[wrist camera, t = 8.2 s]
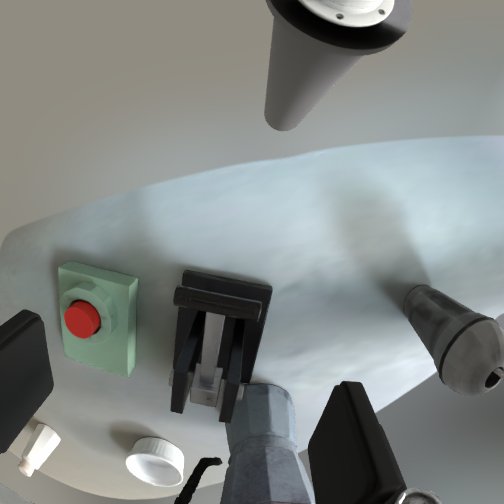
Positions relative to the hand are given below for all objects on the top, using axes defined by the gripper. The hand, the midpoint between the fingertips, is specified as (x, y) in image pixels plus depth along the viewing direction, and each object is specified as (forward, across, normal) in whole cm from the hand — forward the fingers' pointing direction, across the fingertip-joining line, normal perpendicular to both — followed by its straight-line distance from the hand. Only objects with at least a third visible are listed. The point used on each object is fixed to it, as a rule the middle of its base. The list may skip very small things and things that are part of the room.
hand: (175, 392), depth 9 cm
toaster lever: (+13, 0, +6) cm, 14 cm away
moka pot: (+23, -7, +22) cm, 32 cm away
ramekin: (+24, +6, +36) cm, 43 cm away
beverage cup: (+23, -22, +4) cm, 32 cm away
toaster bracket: (+23, 0, +10) cm, 25 cm away
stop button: (+19, +14, +11) cm, 26 cm away
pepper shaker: (+24, +28, +42) cm, 56 cm away
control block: (+23, +14, +12) cm, 30 cm away
